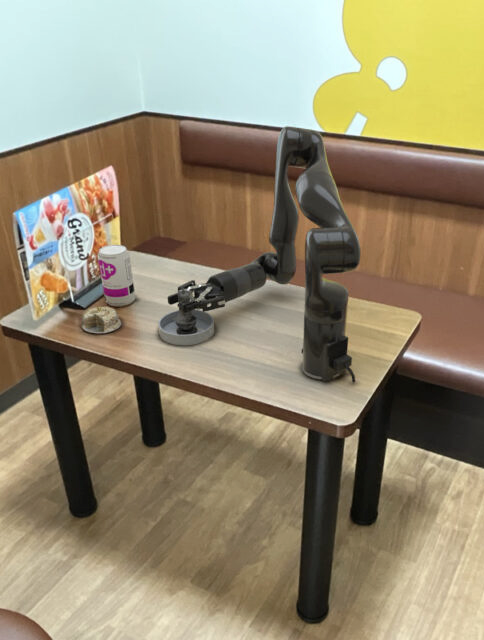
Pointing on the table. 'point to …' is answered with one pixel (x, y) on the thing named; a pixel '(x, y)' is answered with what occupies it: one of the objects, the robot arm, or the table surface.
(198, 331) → the tin
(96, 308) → the cake
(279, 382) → the table surface
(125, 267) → the supplement can
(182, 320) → the dark grey chess piece
